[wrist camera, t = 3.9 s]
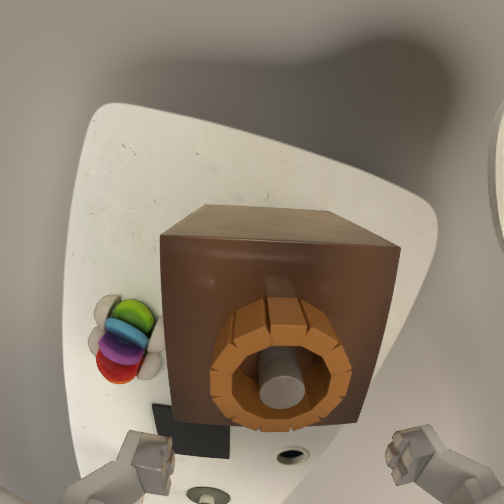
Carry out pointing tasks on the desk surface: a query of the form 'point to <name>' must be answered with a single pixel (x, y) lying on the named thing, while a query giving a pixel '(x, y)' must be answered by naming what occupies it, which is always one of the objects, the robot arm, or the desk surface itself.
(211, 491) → the coffee cup
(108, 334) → the rainbow disc roller toy
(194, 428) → the mat
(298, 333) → the grooved wooden ring
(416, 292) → the desk surface
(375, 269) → the tape stand
